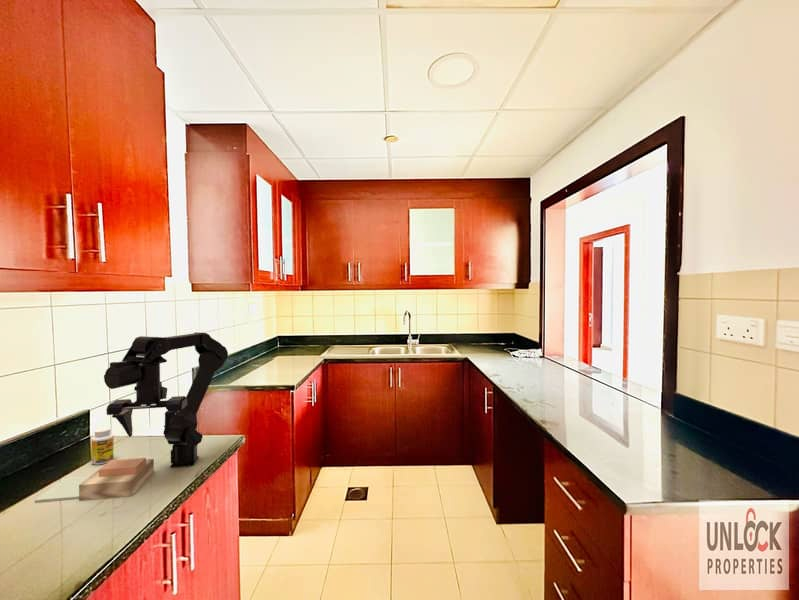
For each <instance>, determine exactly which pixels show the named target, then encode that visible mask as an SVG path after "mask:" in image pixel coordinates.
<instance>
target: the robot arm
mask: <svg viewBox="0 0 799 600" xmlns="http://www.w3.org/2000/svg"><path fill="white" fill-rule="evenodd" d="M190 347H194V349H195V352H196V353H197V354H198V355H199V356H198V370H197V372H196V375H195V377H194V379H193V381H192V383H191V386H190V388H189V389H188V392H187V394H186V396H185V395H183V396H177V395H176V396H172V397H170V398H168V399H167V394H168V387H165V386H163V385H162V384H163V383H162V381H161V364H164V363H167V362H168V360H167V359H166V358H164V357H163V355H166V354H167V353H168V352H170V351H173V350H178V349H185V348H190ZM228 357H229V352H228V349H227V347H225V346H224V345H223V344H222V343H221V342H219V341H217V340H216V339H214V338H213V337H212V336H211V335H210V334H209V333H206V332H198V331H197V332H193V333H187V334H179V335H173V336H166V337H161V336H143V335H141V336H137V337H135V338H134V340H133V341H132V344H131V346H130V348H129V349H128V351H127V352H126V354H125V356H123V358H122V361H112V362H109V367H108V368H107V369H106V371H105V372H104V373H105V374H104V375H103V379H104V381H103V382H104V383H105V385H106V387H108V388H109V389H110V390H113V389H119V388H124V387H127V386H130V385H131V386H132V385H135V386H134V387H133V388H134V391H135V396H136V397H135V398H136V399H135V401H134V402H133V401H132V400H131V398H127V399H115V400H114V401H113V402H111V403H109V404H108V405H107V407H106V415H107V416H111V417H112V419H113V418H114V419H116V420H117V421H118V423H119V424H120V425H121V426H122V429H123V430H124V431H125V433H126V435H127V436H128V437H129V438H131V437H132V436H133V430H134V429H133V421H132V420H133V418H132V415H133V410H142V409H157V408H160V409H161V408H165V410H166V411H165V412H164V425H163V427H164V430H163V436H164V438H165V439H166V441H167V444H168V445H172V448H171V450H170V464H171V465H170V468H172V469H173V468H183V467H194V465H195V464H196V463H197V461H198V460H199V459H200V455H199V456H198V446H199V444H200V443H201V442H202V441H203V434H202V433H200V432H199V431H197V428H198V417H197V414H198V411H199V409H200V407H201V405H202V402H203V400H204V397H205V395H206V393H207V390H208V389H209V386H210V384H211V381H212V379H213V378H214V375H215V373H216V372H217V371H218V370H219V369H221V368H222V367H223V366H224V364H225V362H226V361H227V359H228ZM165 399H166V400H165ZM201 444H202V443H201Z"/></svg>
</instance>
